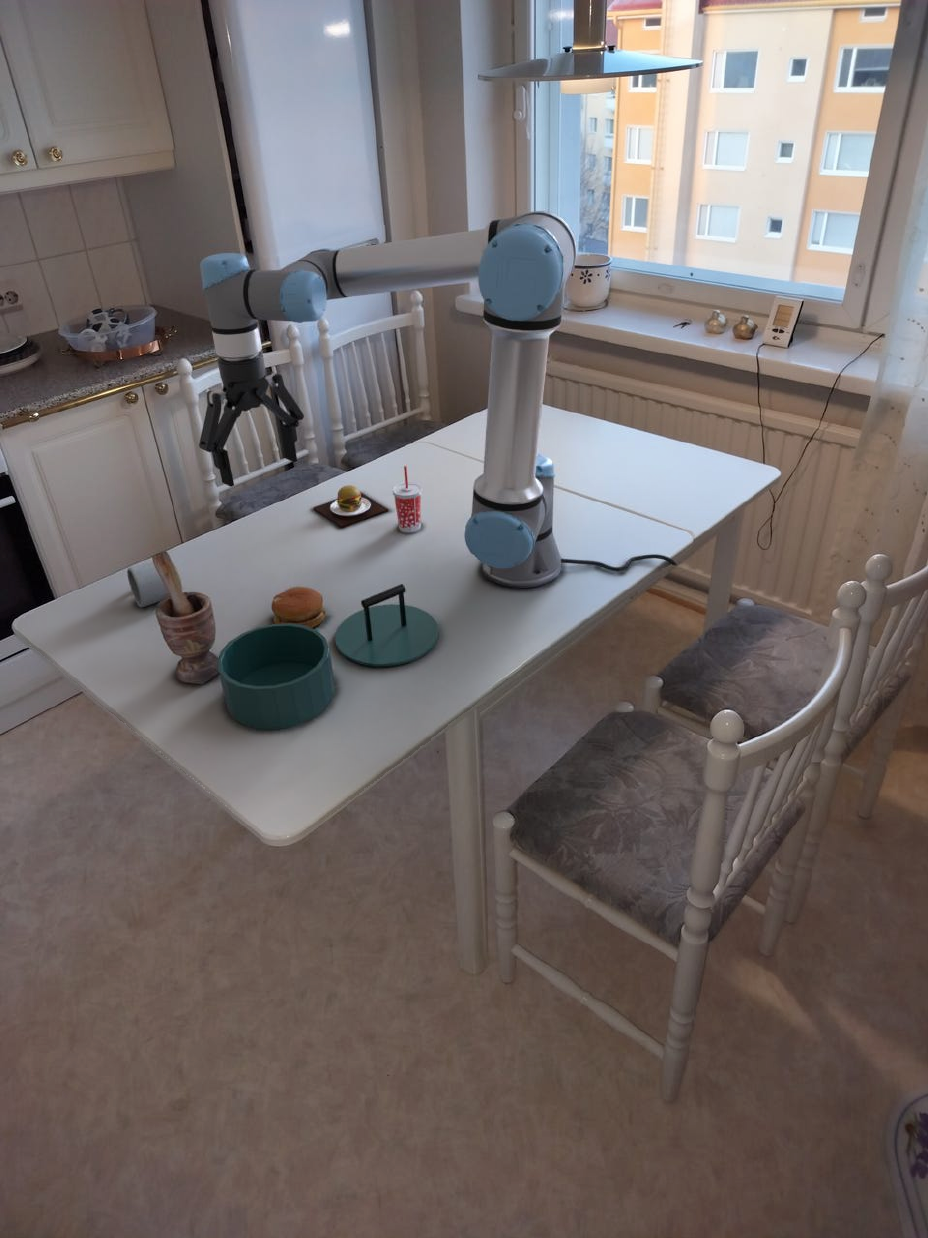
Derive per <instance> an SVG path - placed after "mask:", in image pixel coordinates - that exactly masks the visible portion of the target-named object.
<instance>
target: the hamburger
mask: <svg viewBox="0 0 928 1238" xmlns="http://www.w3.org/2000/svg"><path fill="white" fill-rule="evenodd" d="M313 510H314V511H316V512H317V513H319V514H320V515H321V516H323V517H324V518H326V519H327V520H329V521H330V522H332V523H333V524H335V526H338V527H339V528H341V529H344V528H347V527H350V526H352V525H355V524H357V523H360V522H363V521H366V520H368V519H371V518H374V517H376V516H379V515H382V514H386V513H388V512H389V508H387V507H385V506H384V505H382V504H381V503H379V502H377V501H376V500H374V499H372V498H371V497H369V496H367V495H366V494H364V493H362V492H361V490H360V489H359V488H358V487H357V486H355V485H352V484H351V485H350V484H348V485H344V486H342V487H340V489H339V490H338V491H337V498H336V499H333V500H331V501H327V502H324V503H322V504H319V505H316V506H314V507H313Z"/></svg>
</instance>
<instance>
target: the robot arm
mask: <svg viewBox="0 0 928 1238" xmlns="http://www.w3.org/2000/svg"><path fill="white" fill-rule="evenodd" d="M577 258H578V245H577V241H576V237H575V234H574V231H573V230H572V228H571V227H570V225H569V224H568V223H567V222H566V221H565V220H564V219H563V218H562V217H561V216H559V215H557V214H555V213H552V212H550V211H544V210H535V211H530V212H525V213H522V214H520V215H519V214H518V215H515V216H511V217H506V218H501V219H493V220H489V222H488V223H487V225H486V226H485V228H482V229H473V230H468V231H461V232H460V231H459V232H453V233H446V234H440V235H433V236H424V237H418V238H411V239H404V240H397V241H390V242H382V243H376V244H370V245H363V246H356V247H355V246H354V247H350V248H348V247H347V248H341V249H332V248H327V247H326V248H320V249H316V250H312V251H310V252H309V253H307V254H306V255H305V256H303V257H301V258H299V259H297V260H296V261H293V262H291V263H290V264H288V265H286V266H284V267H282V268H281V269H255V268H251V267H250V264H249V261H248V259H247V257H246V255H244V254H242V253H237V252H224V253H216V254H215V253H214V254H212V255H208V256H206V257H204V258H203V259H202V260H201V261H200V267H199V268H200V273H201V274H200V277H201V282H202V288H201V289H202V291H203V294H204V298H205V302H206V308H207V312H208V317H209V321H210V328H211V333H212V338H213V344H214V350H215V354H216V355H217V356H218V357H217V365H218V370H219V371H218V372H219V377H220V379H221V383H222V390H219V391H218V390H217V391H213V390H208V391H207V392H206V401H207V406H206V410H205V414H204V420H203V425H202V428H201V429H202V430H201V433H200V438H199V443H198V447H199V449H201V450H203V451H205V452H207V453H211V456H212V460H213V464H214V467H215V468H216V469H218V470H219V474H220V478H221V483H222V484H224V485H226V486H228V487H230V488H232V487H234V486H235V482H234V477H233V472H232V471H233V470H232V466H231V463H230V457H229V456H230V455H229V452H228V450H227V449H225V447H226V446H225V445H226V443H227V441H228V440H229V437H230V435H231V432H232V430H233V428H234V426H235V425H236V424H235V423H236V422H237V419H238V418H239V417H240V416H241V414H242V413H243V412H244V413H246V412H248V411H251V410H252V409H257V408H260V407H261V405H263V407H265V408H266V409H267V410H268V411H270V412H271V413H272V414H273V415H274V416H276V418H278V419H279V420H280V421H281V422H283V423H282V424H280V425H279V427H280V433H281V440H282V445H283V446H282V447H283V451H284V452H283V453H284V459H286V460H288V461H289V462H292V463H296V462H298V457H297V456H298V455H297V450H296V442H297V441H298V435H297V434H298V433H297V428H298V427H299V425H300V422H299V421H302V420H304V418H305V414H304V413H303V411H302V410H301V407H299V405H298V403H297V402H296V401H295V399H294V398H293V396H292V395H291V393H290V392H289V390H288V389H287V387H286V385H285V381H284V379H283V376H282V374H280V373H277V372H274V371H270V372H269V373H268V375H266V373H267V372H266V366H265V361H264V360H265V359H264V355H263V353H262V352H261V351H262V350H263V347H262V341H261V336H260V330H259V323H258V321H276V322H291V323H297V324H302V323H307V322H308V323H309V322H314V323H315V322H317V321H319V320H320V319H322V317H323V316H324V312H325V311H326V308H327V301H329V300H330V301H332V300H338V299H339V300H340V299H345V298H352V297H360V296H368V295H376V294H385V293H393V292H401V291H410V290H418V289H426V288H433V287H434V288H435V287H443V286H451V285H459V284H468V283H476V282H478V289H479V292H480V294H481V297H482V300H483V312H482V313H483V315H482V320H483V322H484V323H485V324H486V325H487V327H488V328H489V329H490V330H491V332H492V334H491V347H490V348H491V349H490V364H489V365H490V366H489V379H488V380H489V381H488V396H487V412H486V427H485V429H486V430H485V443H484V458H483V459H484V460H483V473H482V474H480V475H479V476H477V478H475V480H474V482H473V488H472V504H471V514H470V517H469V519H468V520H467V522H466V524H465V526H464V542H465V545H466V547H467V549H468V551H469V553H470V554H471V555H472V556H474V558H476V560H477V561H478V562H480V563H482V564H481V565H482V567H481V568H482V572H483V574H484V576H485V577H486V578H487V579H488V580H490V581H491V582H493V583H495V584H497V585H500V586H503V587H508V588H513V589H514V588H516V589H528V588H530V589H531V588H536V587H540V586H544V585H546V584H548V583H551V582H552V581H553V580H555V579H557V577H558V576H559V575H560V573H561V569H562V564H573V565H591V566H597V567H600V568H603V569H606V570H608V571H611V572H622V571H625V570H627V569H628V567H630V565H632V563H634V562H636V561H642V560H648V559H650V560H651V559H658V560H662V561H665V562H668V563H669V564H671V565H673V566H678V563H677V562H676V561H675V560H674V559H672V558H671V557H669V556H666V555H663V554H658V553H657V554H654V553H653V554H652V553H650V554H642V555H637V556H633V557H630V558H629V559H628V560H627V561H626V562H625V564H623V565H622V566H612V565H609V564H606V563H604V562H601V561H597V560H590V559H589V560H587V559H574V558H573V559H572V558H561V553H560V550H559V548H558V545H557V542H556V539H555V536H554V533H553V529H554V528H553V525H554V493H555V492H554V490H555V489H554V487H555V477H556V474H555V466H554V462H553V461H552V459H550V458H549V457H547V456H546V455H542V454H540V453H538V452H539V441H540V433H541V421H542V412H543V403H544V402H543V401H544V392H545V382H546V373H547V363H548V353H549V343H550V336H551V335H552V334H553V333H554V332H555V331H556V330H558V329H559V327H560V326H561V325H562V316H563V308H564V301H565V291H566V284H567V283H566V282H567V281H568V279H570V277H571V275H572V274H573V272H574V270H575V269H574V268H575V266H576V262H577ZM269 387H271V388H272V390H273V391H274V393H275V394H276V396H277V397H278V399H279V400H280V401H281V403H282V405H283V406H284V408H285V410H284V409H283V408H282V407H281V406H280V405H278V403H276V402H275V401H274V399H273V398H271V396H269V395H268V394H267V391H268V388H269ZM225 400H226V402H224V401H225ZM224 403H225V404H224ZM222 405H224V406H223V412H222ZM233 408H234V409H233ZM286 410H287V411H286Z"/></svg>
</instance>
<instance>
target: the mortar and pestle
mask: <svg viewBox="0 0 928 1238" xmlns="http://www.w3.org/2000/svg"><path fill="white" fill-rule="evenodd" d="M151 560H152V562H153V564H154V566H155V568H156V570H157V572H158V574H159V576H160V578H161V580H162V581H163V583H164V585H165V587H166V589H167V591H168V593H169V595H170V596H169V597H167V598H165V599H163V600H162V601H160V602H157V605H156V606H155V608H154V614H155V616H156V620H157V623H158V625H159V628H160V633H161V634H162V638H163V640H164V642H165V644H166V645H167V647H168V648H169V650H170V651H171V652H172V653H173V654H174V655H176V656H178V657H180V659H179V660H178V662H177V665H176V667H175V675H176V677H177V679H178V680H179V681H181V682H182V683H186V684H201V685H203V684H205V683H206V682H208V681H209V680H211V679H213V678H214V677H216V676H217V675H218V674H219V671H218V665H217V660H218V658H219V657H217V656H216V654H214V653H213V652H211V651H210V650H211V649H212V648H213V647H214V645H215V641H216V633H217V631H216V627H217V626H216V619H215V616H214V610H213V604H212V600H211V598H210V597H209V596H208V595H207V594H206V593H203V592H199V591H198V592H197V591H188V592H187V591H184V592H183V588H182V589H181V587H180V585H179V582H178V579H177V576H176V572H175V569H174V565H173V563H174V561H173V560H172V558H171V556H170V554H169V553H168V551H166V550H164V551H160V552H158V553H155V554H154V555H151Z"/></svg>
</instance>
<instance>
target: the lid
mask: <svg viewBox="0 0 928 1238" xmlns="http://www.w3.org/2000/svg"><path fill="white" fill-rule="evenodd" d="M406 592H407V591H406V587H405V585H404V584H403V583H400V584H398V585H395V586H393V587H391V588H388V589H386V590H384V591H381V592H378V593H376V594H374V595H371V596H368V597H366V598H364V599H361V600H360V604H361V607H362V608H363V609H361V610H359V611H357V612H355V613H353V614H350V615H349V616H348V617H347V618H345V619H344V620H343V621H342V622H341V623H340V624H339V626H338V627H337V629H336V632H335V637H334V639H335V646H336V648H337V649H338V651H339V653H341V654H342V656H344V657H345V658H346V659H348V660H350V661H352V662H355V663H358V664H361V665H365V666H371V667H392V666H398V665H402V664H406V663H409V662H410V663H411V662H412V661H414V660H418V659H419V658H421V657H423V656H424V655H426V654H428V653H429V652H430V651H431V650H432V649H433V648H434V647H435V645H436V644H437V642H438V639H439V636H440V627H439V624H438V622H437V620H436V619H435V617H434V616H433V615H432V614H430V613H428V612H427V611H425V610H423V609H421V608H419V607H415V606H413V605H412V606H411V605H406V602H405V601H406V600H405V593H406ZM397 596H398V604H397V603H394V604H393V603H392V604H391V603H390V604H380V603H383V602H385V601H387V600H390V599H392V598H395V597H397ZM377 604H379V605H377Z"/></svg>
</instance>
